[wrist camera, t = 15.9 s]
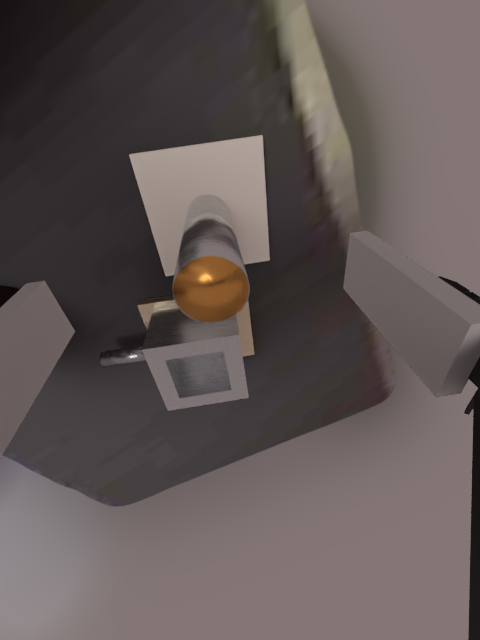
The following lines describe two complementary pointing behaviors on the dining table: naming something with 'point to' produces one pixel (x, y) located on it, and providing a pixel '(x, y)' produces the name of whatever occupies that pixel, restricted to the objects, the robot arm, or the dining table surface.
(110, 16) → the dining table surface
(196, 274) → the metal cylinder
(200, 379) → the grey box
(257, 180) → the pad
